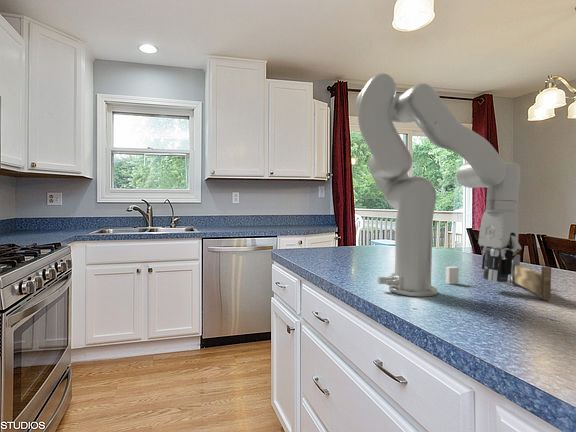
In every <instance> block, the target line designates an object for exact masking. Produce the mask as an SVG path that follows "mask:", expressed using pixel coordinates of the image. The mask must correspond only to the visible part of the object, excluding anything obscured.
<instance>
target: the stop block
mask: <svg viewBox="0 0 576 432" xmlns="http://www.w3.org/2000/svg"><path fill="white" fill-rule="evenodd" d="M459 273H460V269H459V267H457V266H445V282H444V283H445V284H448V285H459V275H460V274H459Z"/></svg>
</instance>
